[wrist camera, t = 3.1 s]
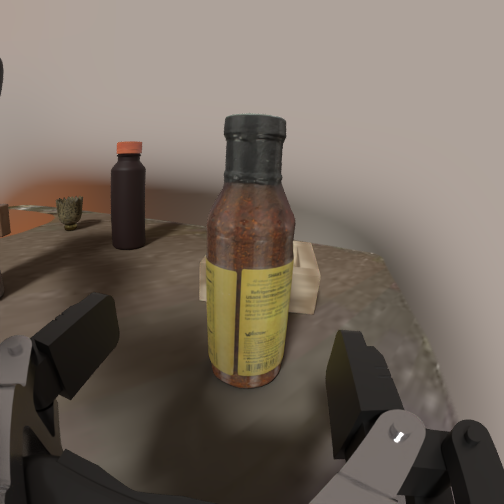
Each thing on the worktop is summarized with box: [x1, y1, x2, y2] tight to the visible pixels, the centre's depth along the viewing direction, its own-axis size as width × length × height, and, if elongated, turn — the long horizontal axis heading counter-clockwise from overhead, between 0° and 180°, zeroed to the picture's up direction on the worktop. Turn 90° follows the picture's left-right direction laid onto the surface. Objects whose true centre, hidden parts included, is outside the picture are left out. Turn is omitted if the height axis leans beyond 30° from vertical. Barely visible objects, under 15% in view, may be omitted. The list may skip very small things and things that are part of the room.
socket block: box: [200, 241, 321, 314], centre depth 39 cm, size 14×14×5 cm
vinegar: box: [111, 142, 146, 250], centre depth 49 cm, size 7×7×20 cm
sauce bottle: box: [206, 114, 295, 389], centre depth 20 cm, size 6×6×20 cm
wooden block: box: [0, 204, 11, 237], centre depth 50 cm, size 4×4×8 cm
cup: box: [56, 196, 83, 231], centre depth 58 cm, size 8×7×8 cm
